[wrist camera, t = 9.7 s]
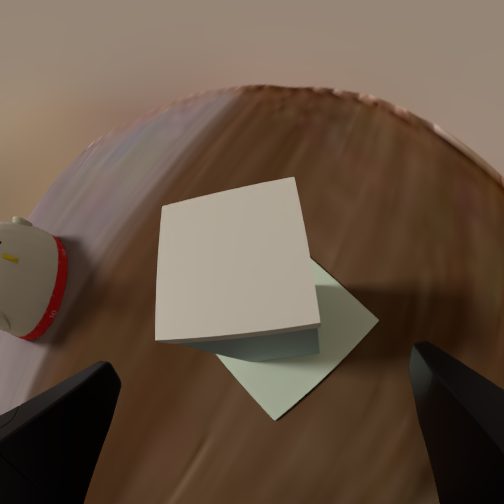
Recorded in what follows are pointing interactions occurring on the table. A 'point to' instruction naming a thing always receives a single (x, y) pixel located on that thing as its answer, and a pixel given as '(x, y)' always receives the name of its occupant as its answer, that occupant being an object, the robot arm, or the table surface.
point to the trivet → (313, 365)
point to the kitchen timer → (29, 278)
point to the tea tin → (237, 274)
